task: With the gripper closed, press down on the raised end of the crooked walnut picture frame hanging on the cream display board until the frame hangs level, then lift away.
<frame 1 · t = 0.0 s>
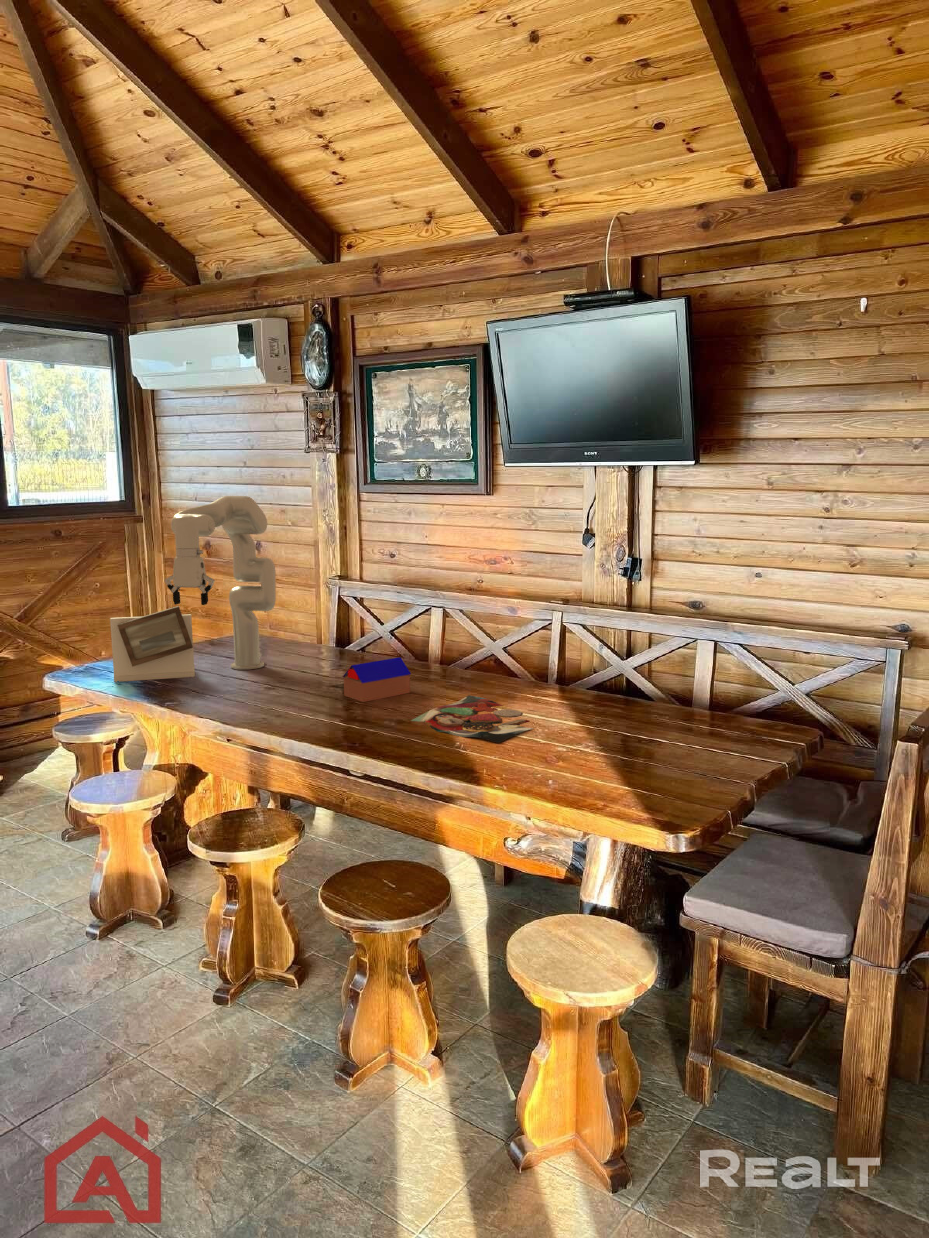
hand: (190, 604, 306), 31 cm above the table, fingers open, 9 cm apart
platter: (482, 722, 278), on the table
display board: (154, 678, 335), on the table
house: (377, 695, 311), on the table
picture frame: (155, 636, 331), point 16 cm above the table, hinge at 15.0°
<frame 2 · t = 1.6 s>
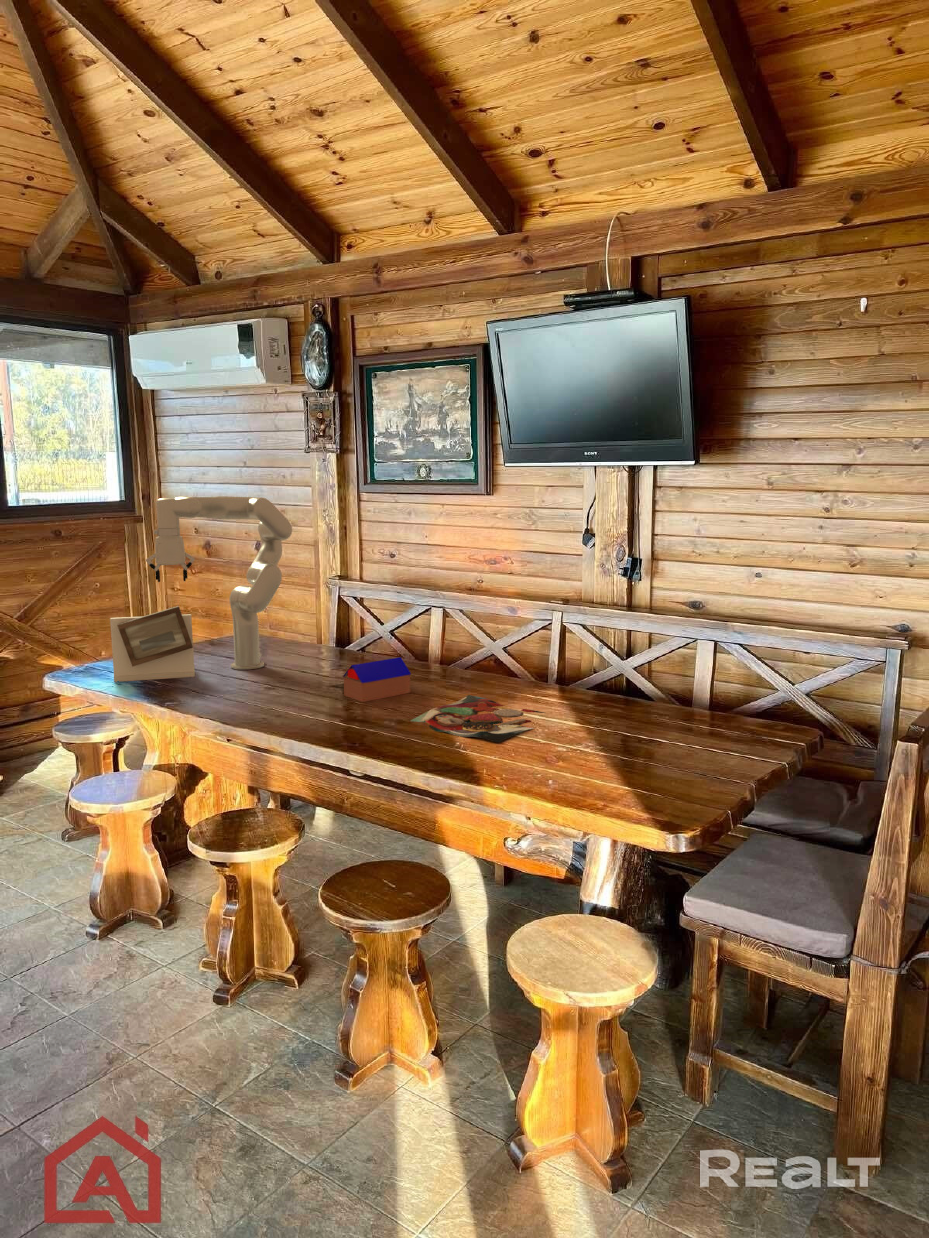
hand: (171, 581, 330), 36 cm above the table, fingers open, 8 cm apart
nothing on the table moved.
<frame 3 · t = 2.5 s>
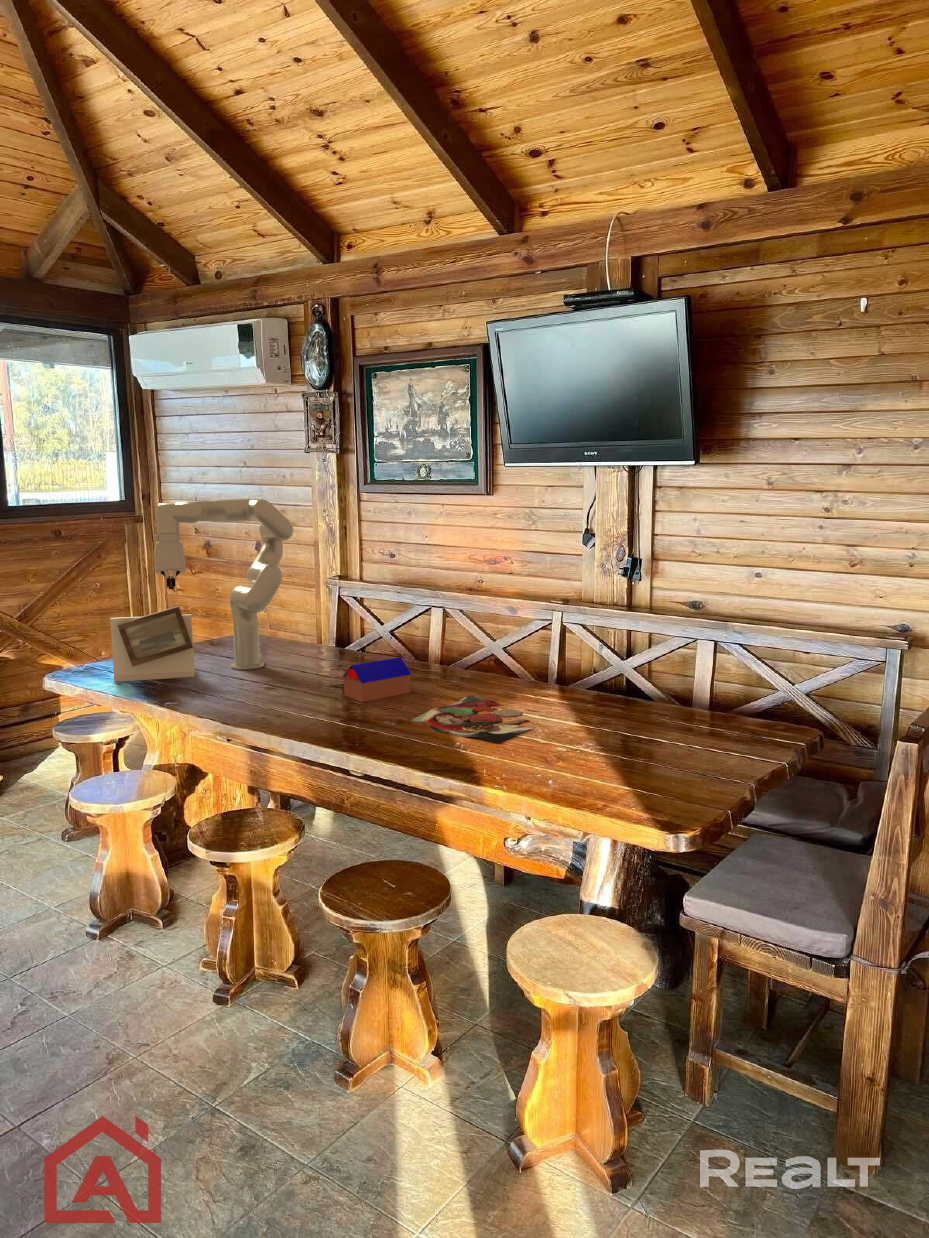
hand: (171, 588, 330), 33 cm above the table, fingers closed
nothing on the table moved.
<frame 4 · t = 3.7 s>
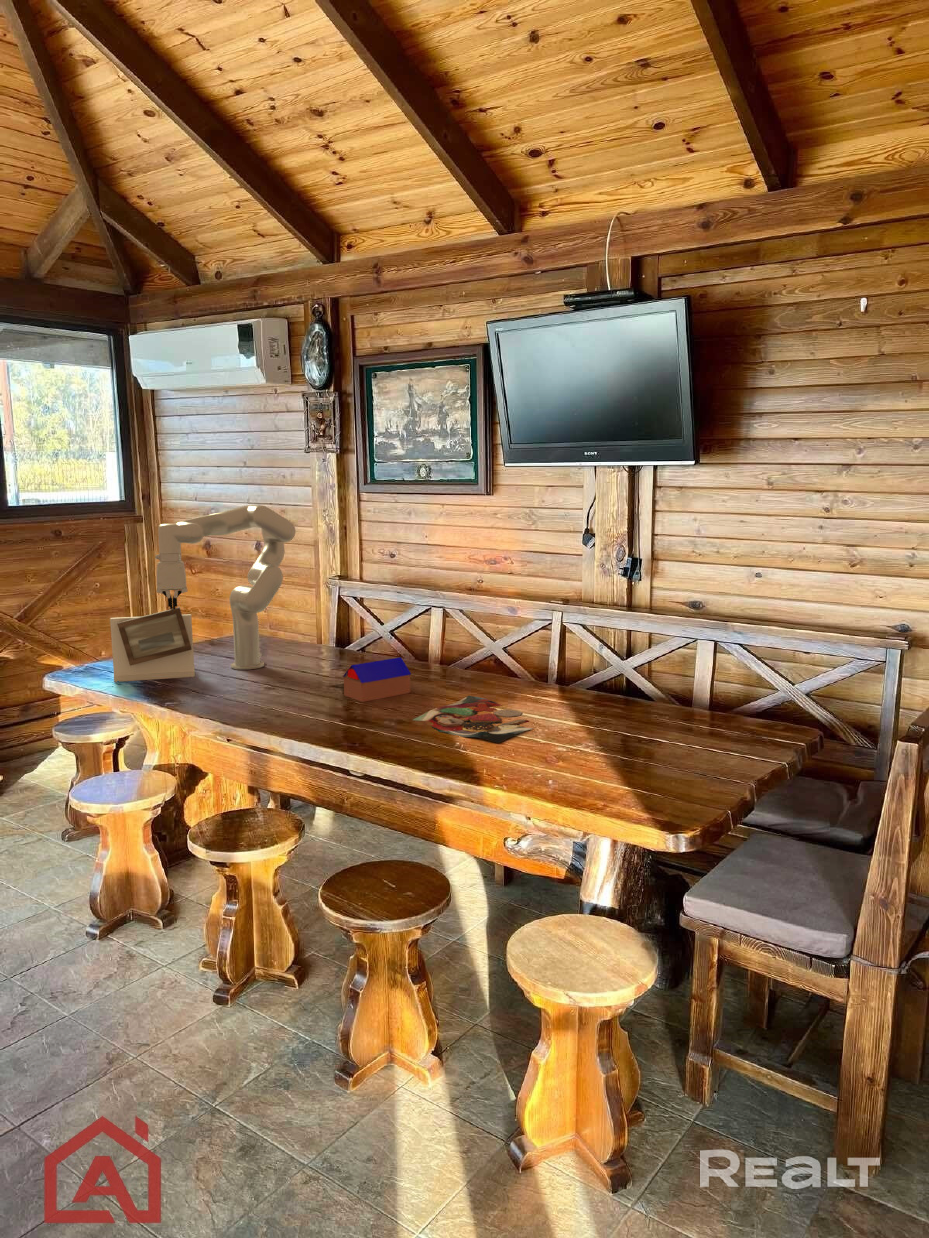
hand: (172, 608, 331), 26 cm above the table, fingers closed
picture frame: (155, 636, 331), point 16 cm above the table, hinge at 12.1°, touching gripper
everything else where it was.
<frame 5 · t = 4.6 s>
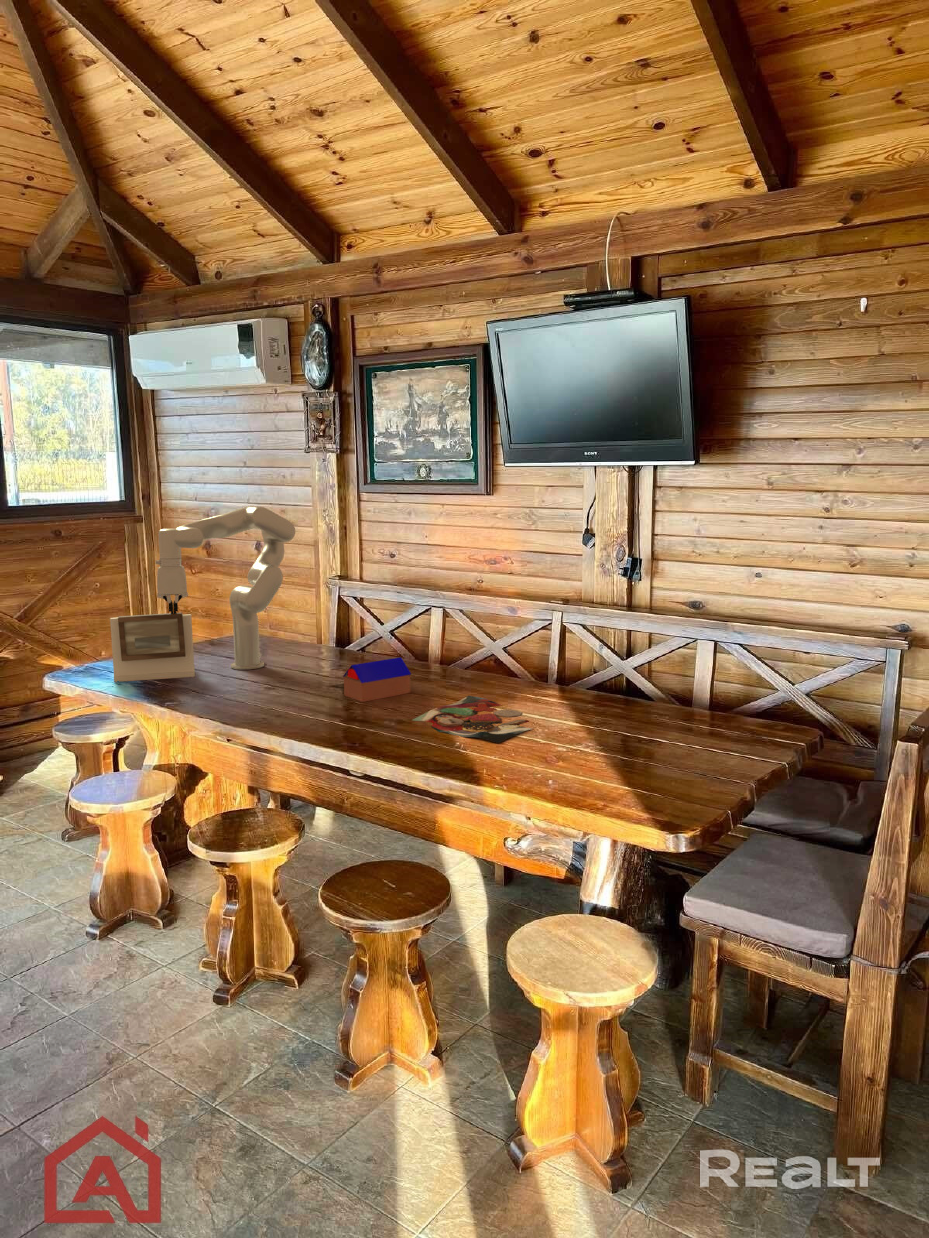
hand: (173, 613, 332), 24 cm above the table, fingers closed
picture frame: (152, 636, 331), point 16 cm above the table, hinge at 1.0°, touching gripper
everything else where it was.
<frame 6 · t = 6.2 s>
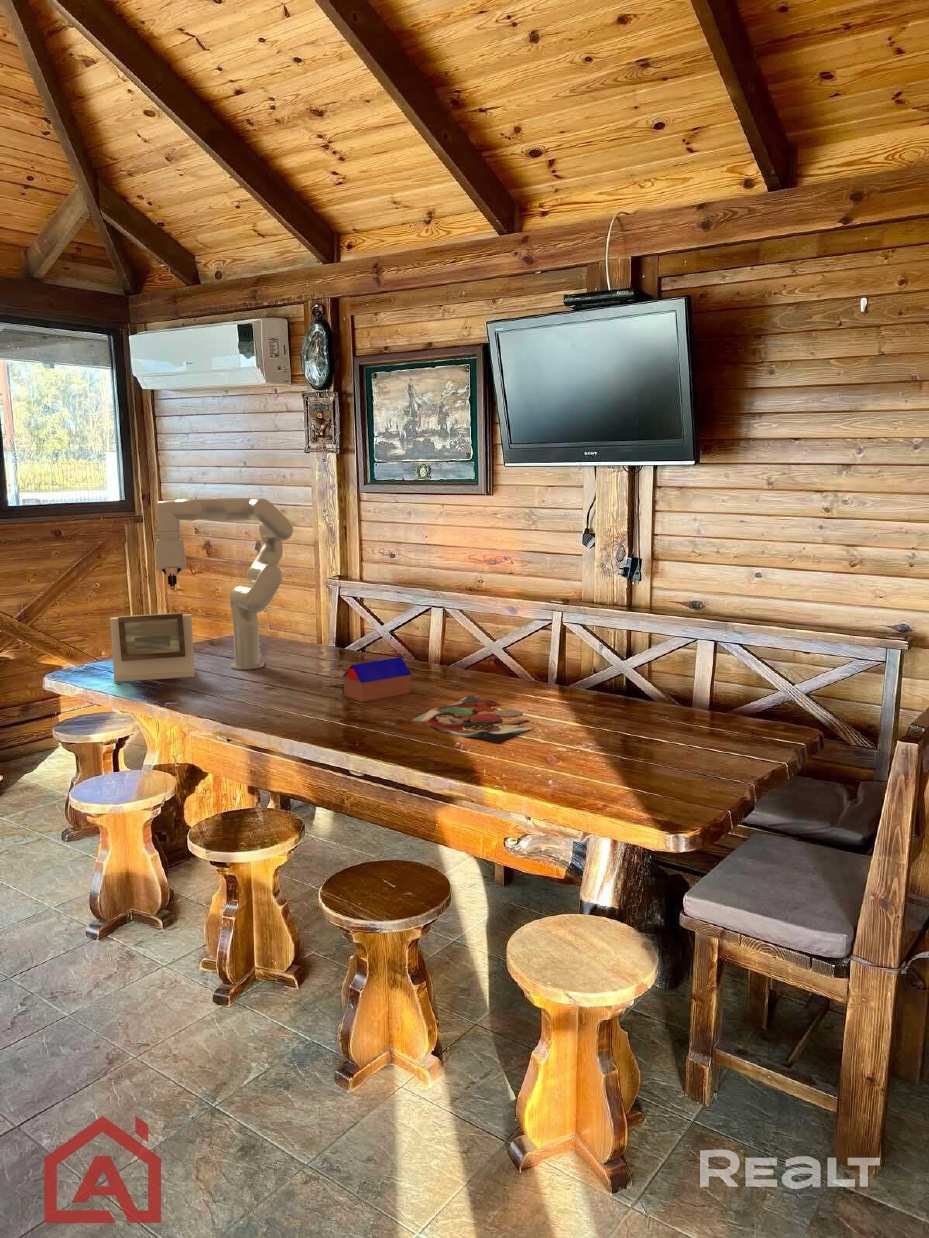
hand: (172, 586, 330), 34 cm above the table, fingers closed
picture frame: (152, 636, 331), point 16 cm above the table, hinge at 0.8°
everything else where it was.
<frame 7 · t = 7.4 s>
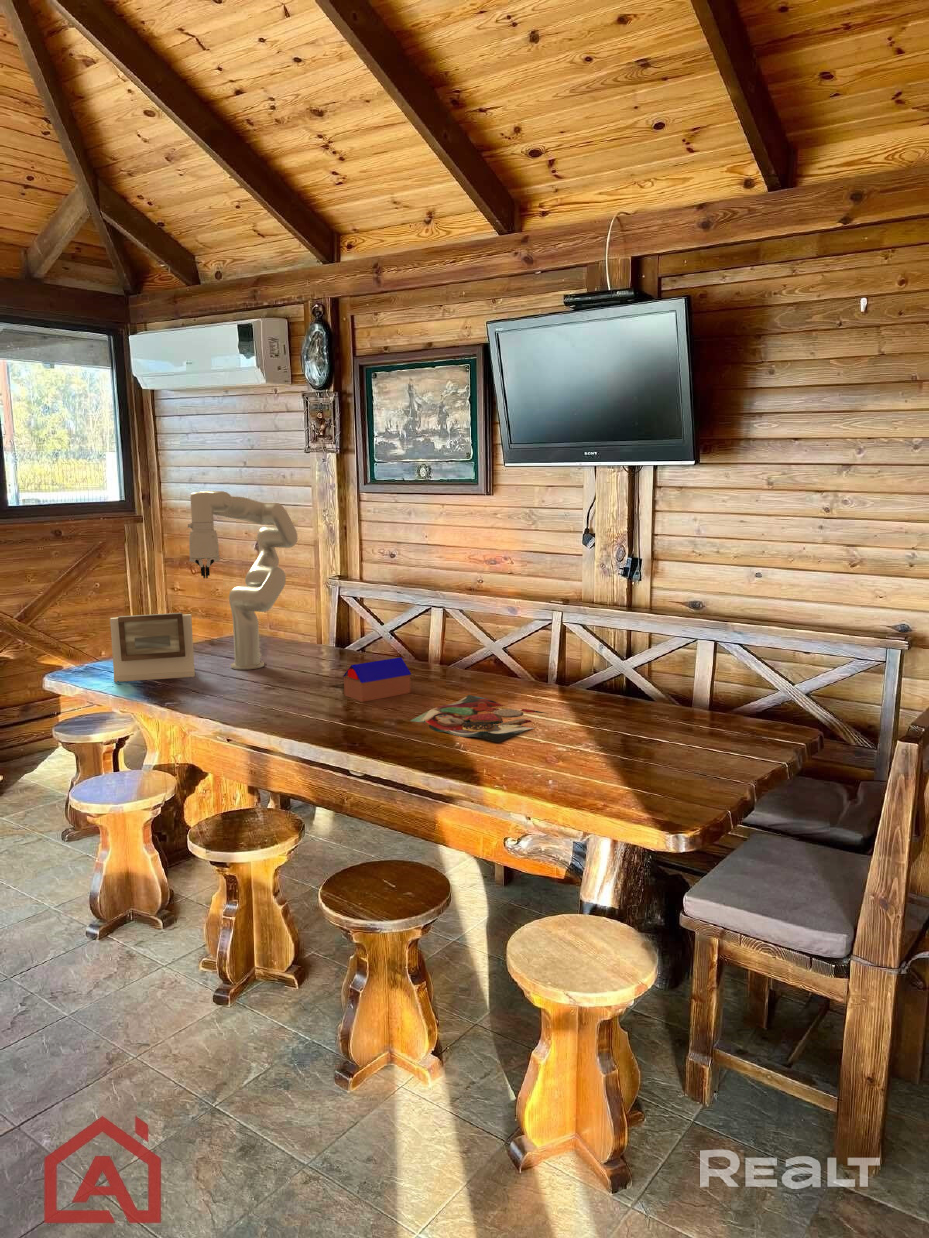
hand: (205, 577, 330), 37 cm above the table, fingers closed
nothing on the table moved.
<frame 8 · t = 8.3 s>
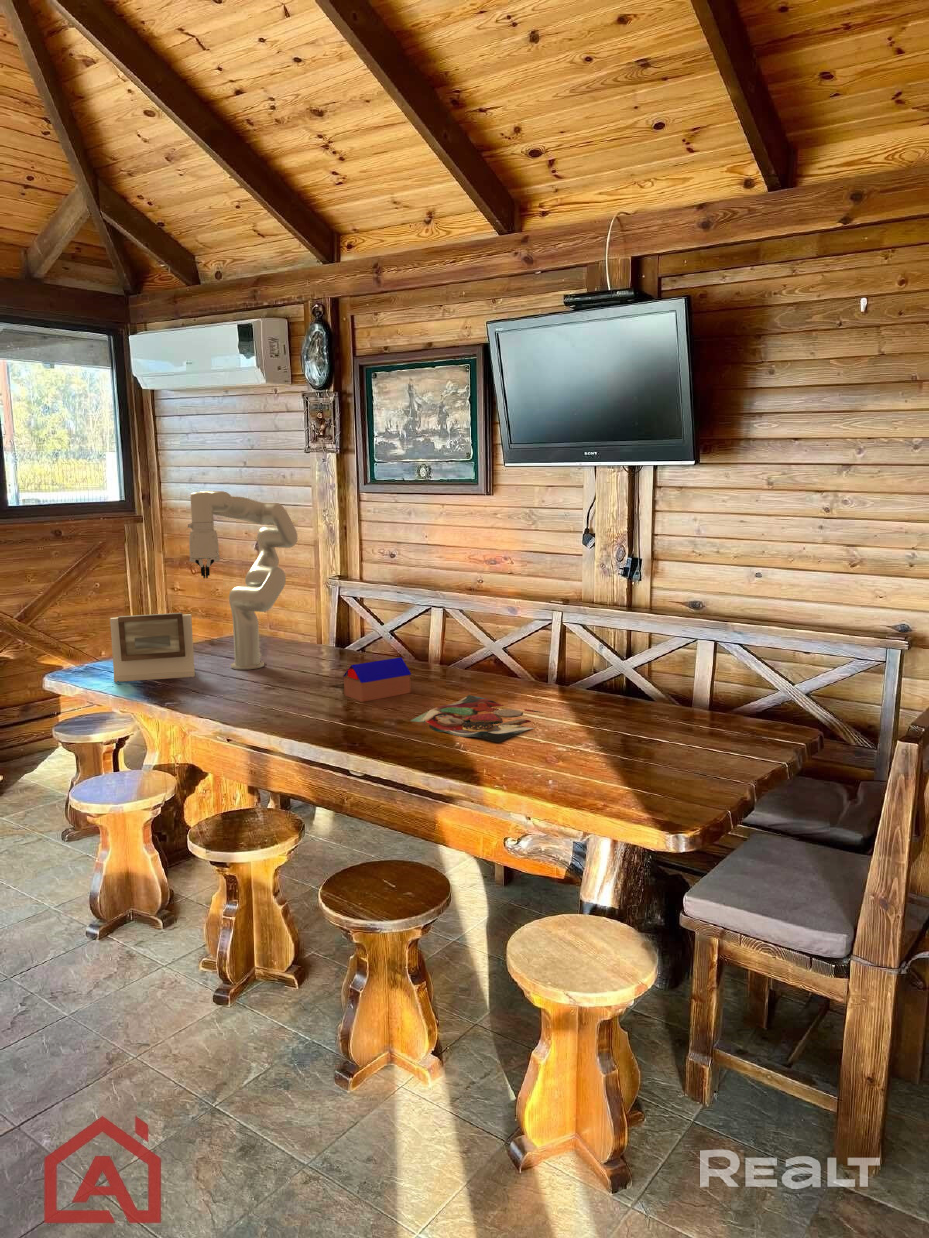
hand: (205, 577, 330), 37 cm above the table, fingers closed
nothing on the table moved.
at the end: picture frame at +1° (first picture: +15°) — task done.
